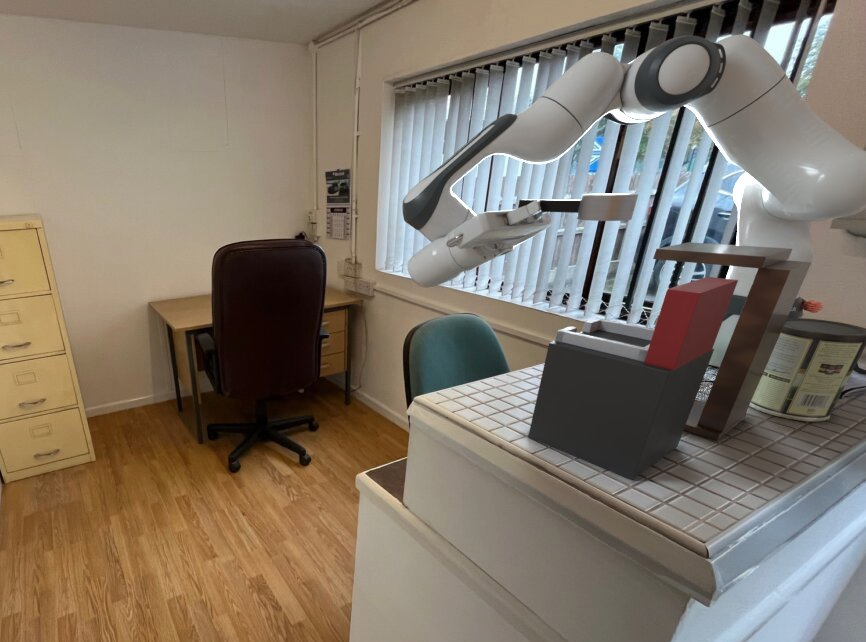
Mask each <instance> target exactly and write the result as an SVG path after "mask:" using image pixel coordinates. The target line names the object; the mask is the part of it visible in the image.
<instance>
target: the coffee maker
mask: <svg viewBox="0 0 866 642" xmlns="http://www.w3.org/2000/svg"><path fill="white" fill-rule="evenodd" d="M737 282H738V280H733V279H726V278H724V277H723V278H722V277H712V276H706V277H702V278H699V279H696V280H692V281H689V282H687V283H683V284H679V285H677V286H673V287H669V288H667V289H666V292H665V295H664V299H663V303H662V305H661V307H660V311H659V315H658V316H659V317H658V316H657V317H658V320H657V324H656V327H655V326H654V328H655V329H654V328H653V327H647V326H641V325H636V324H631V323H626V322H620V321H615V320H610V319H605V318H599V317H595V318H591V319H589V320H585V321H584V323H583V327H582V331H580V332H578V327H575V326H567V327H564V328H561V329H558V330H557V331H556V334H555V339H554V340H553V341H550V342H549V343H548V347H547V350H546V356H545V360H544V364H543V369H542V372H541V373H542V374H541V378H540V382H539V386H538V391H537V395H536V400H535V405H534V408H533V412H532V413H533V414H532V417H531V422H530V426H529V431H528V436H527V437H528V438H530V439H533V440H535V441H538V442H540V443H542V444H544V445H547V446H549V447H552V448H554V449H557V450H559V451H562V452H564V453H566V454H569V455H571V456H573V457H576V458H578V459H581V460H583V461H585V462H588V463H590V464H592V465H594V466H597V467H600V468H602V469H604V470H606V471H609V472H611V473H613V474H616V475H618V476H621V477H623V478H626V479H628V480H631V481H633V480H634V479H636V478H638V477H639V476H640V475H642V474H643V473H645V472H646V471H647V470H648V469H650V468H651V467H653V466H654V465H655V464H656V463H658V462H660V461H662V459H664V458H665V457H666V456H668V455H669V454H670V453H672V452H673V451H674V450H676V449H677V448H678V446H679V443H680V441H681V438H682V435H683V433H684V431H685V430H684V428H685V425H686V422H687V420H688V417H689V415H690V412H691V409H692V407H693V404H694V401H695V399H696V400H697V396H698V393H699V391H700V389H701V385H702V383H703V381H704V377H705V375H706V372H707V370H708V368H709V366H710V365H709V362H710V359H711V357H712V354H713V351H714V349H712V348H713V346H714V343H715V340H716V338H717V335H718V332H719V330H720V327H721V324H722V322H723V319H724V317H725V314H726V311H727V309H728V306H729V303H730V301H731V298H732V295H733V293H734V290H735V287H736V285H737Z"/></svg>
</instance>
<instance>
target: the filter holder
mask: <svg viewBox="0 0 866 642" xmlns="http://www.w3.org/2000/svg"><path fill="white" fill-rule="evenodd" d="M638 197H639V193H583V194H581V198H580V199H539V198H537V199H536V198H535V199H531V198H530V199H525V198H524V199H519V200H518V206H517V208H520V207H523V206H526V205H528V204H530V203H531V202H533V201H542V205H543V206H544V209H543V211H541V212H548V213H572V214H574V213H576V214H577V215H576V220H579V221H593V222H594V221H596V222H624V221H631V220H632V219H633V215H634V211H635V208H636V205H637V201H638Z"/></svg>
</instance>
